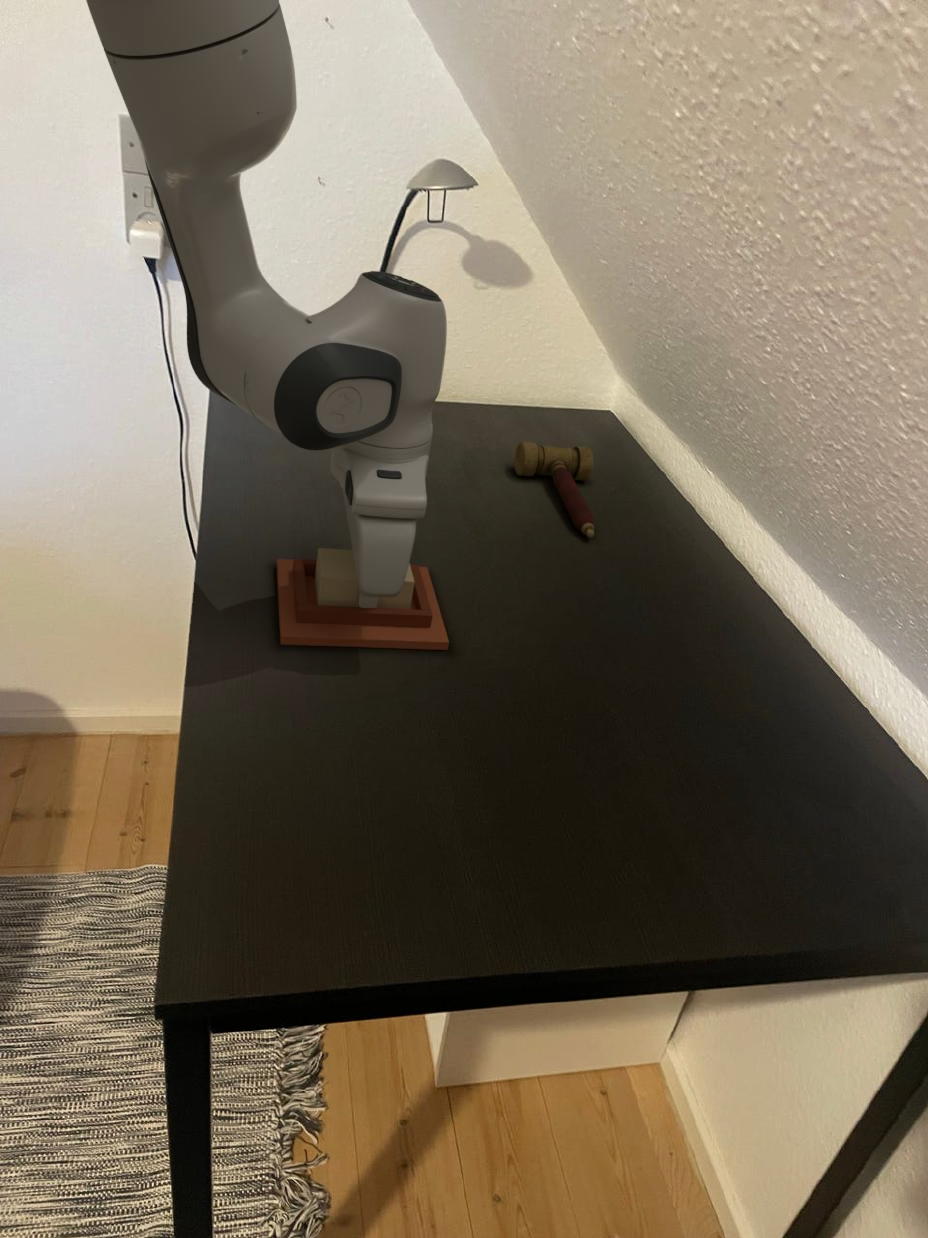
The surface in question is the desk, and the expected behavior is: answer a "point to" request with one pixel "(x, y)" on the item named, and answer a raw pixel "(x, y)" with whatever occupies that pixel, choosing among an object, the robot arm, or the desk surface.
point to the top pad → (350, 582)
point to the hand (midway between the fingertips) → (363, 585)
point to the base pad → (355, 615)
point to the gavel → (561, 476)
